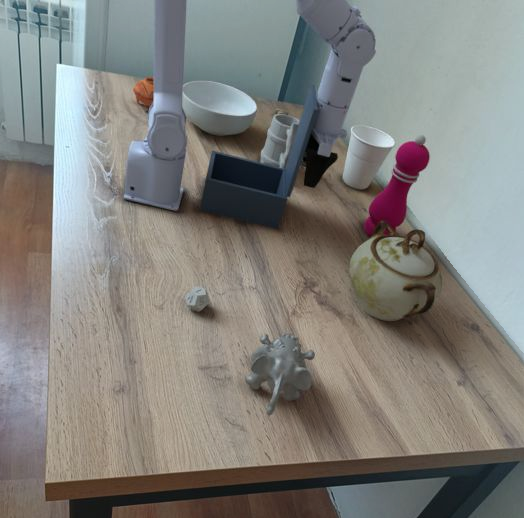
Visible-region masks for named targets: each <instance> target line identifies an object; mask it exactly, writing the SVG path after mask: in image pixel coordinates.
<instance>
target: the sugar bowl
mask: <svg viewBox="0 0 524 518" xmlns="http://www.w3.org/2000/svg"><path fill="white" fill-rule="evenodd" d="M380 229H381V230H380ZM386 230H388V232H389V233H390V235H383V234H384V233H385V231H386ZM415 235H417V236H418V238H419V241H416V240H414V239H412V237H413V236H415ZM425 241H426V232H425V231H424V230H422V229H416V228H415V229H412V230H410V231H409V232H408V233H407V234H406V235H405V236H403V235H399V234H398V233H397V231H396V232H395V231H394V230H393V229H392V228H391V227H390V225H389V224H388V223H387V222H386V221H380V222H378V223H377V224H376V226H375V228H374V230H373V236H370V238H369V239H368V240H366V241H364V242H363V243H361V244H360V245H359V246H358V247H357V249H355V250H354V252H353V254H352V255H351V257H350V261H349V266H348V267H349V269H348V273H349V280H350V284H351V287H352V289H353V293H354V295H355V299H356V301H357V304H358V305H359V307H360V308H361V309H362V310H363V311H364V312H365V313H366V314H368V315H369V316H371V317H373V318H375V319H378V320H381V321H386V322H396V321H400V320H401V319H405V318H411V317H413V316H416V315H423V314H425V313H427V312H428V311H429V310H430V309H431V308H432V307H433V305H434V304H435V302H436V301H437V300H438V299H439V296H440V294H441V292H442V288H443V274H442V271H441V268H440V266H439V262H438V260H437V258H436V257H435V255H434V254H433V253H432V251H430V250H429V249H428V247H426V246H424V244H425Z"/></svg>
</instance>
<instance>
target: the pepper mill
mask: <svg viewBox="0 0 524 518" xmlns="http://www.w3.org/2000/svg"><path fill="white" fill-rule="evenodd" d="M426 139H427V138H426V137H425V136H424V135H423V134H419V135H417V136H416V137H415V139H414V140H410V141H406V142H404V143H403V144H401V145H399V147H398V148H397V150H396V153H395V156H394V157H395V163H394V164H393V166H392V169H391V172H390V174H391V177H390V180H389V182H388V184H387V185H386V187H384V188H383V190H382V191H381V192H379V194H377V195H376V196H375V197H374V198H373V200H372V201H371V203H370V204H369V207H368V215H369V216H367V218H366V219H365V221H364V224H363V229H364V232H366V234H368V236H370V237H372V236H373V230H374V228H375V226H376V224H377V223H378V222H380V221H386V222H387V223H388V224H389V225H390V227H391V228H392V229H393V230H394V231H395V232H396V233H397V227H399V226H401V225H403V223H404V221H405V219H406V216H407V211H408V208H407V207H408V206H407V205H408V203H407V202H408V194H409V192H410V189H411V187H412V186H413V184H414V183H417V182H418V178H419V177H420V172H423V171H424V170H425V169H426V168H427V167H428V165H429V162H430V157H431V156H430V155H431V154H430V151H429V149H428V148H427V147H426V146H425V145H424V144H425V143H426V141H427V140H426ZM380 230H381V229H380ZM383 235H390V233H389V232H388V230H386V231H385V233H384V234H383Z"/></svg>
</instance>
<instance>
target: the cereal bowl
mask: <svg viewBox="0 0 524 518" xmlns="http://www.w3.org/2000/svg"><path fill="white" fill-rule="evenodd" d="M182 107H183V110H184V112H185V116H186V119H188V121H190V122H191V123H192V124H193V125H195V126H196V127H198V128H199V129H200V130H202V131H203V132H205V133H207V134H208V135H209V134H210V135H214V136H221V137H224V136H229V135H230V136H232V135H237V134H240V133H243V132H244V131H246V130H247V129H249V128H250V127H251V125H252V124H253V122H254V120H255V117H256V115H257V113H258V112H257V111H258V105H257V103H256V101H255V100H254V99H253V98H252V97H251V96H249V94H247V93H245V92H244V91H242V90H240V89H238V88H236V87H233V86H231V85H227V84H226V83H225V84H224V83H221V82H217V81H210V80H192V81H189V82H185V83H184V84H183V94H182Z"/></svg>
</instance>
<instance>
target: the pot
mask: <svg viewBox="0 0 524 518" xmlns="http://www.w3.org/2000/svg"><path fill="white" fill-rule="evenodd" d="M132 90H133V93H134V95H135V100H136V103H137V104H140V103H142V104H143V105H145V106H148V108H149V109H150V107H151V105H152V103H153V101H154V77H150V76H148V77H145V78H144V79H142V80H140V81H138V82H136V83H135V85H134V86H133V89H132Z"/></svg>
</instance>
